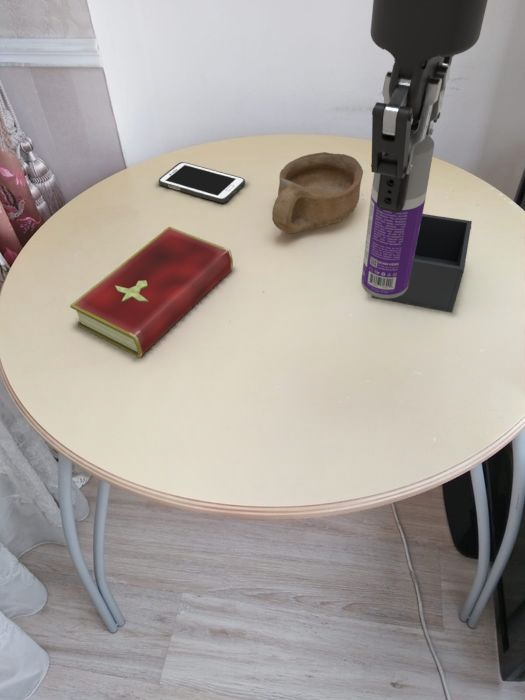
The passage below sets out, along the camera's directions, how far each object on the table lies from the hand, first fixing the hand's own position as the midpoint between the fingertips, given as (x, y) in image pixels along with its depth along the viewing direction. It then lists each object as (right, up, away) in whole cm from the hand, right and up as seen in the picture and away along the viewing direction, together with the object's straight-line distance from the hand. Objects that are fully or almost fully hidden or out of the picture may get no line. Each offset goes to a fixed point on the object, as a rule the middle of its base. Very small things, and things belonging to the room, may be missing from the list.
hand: (399, 192), depth 49 cm
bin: (+11, -3, +34) cm, 35 cm away
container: (0, -7, +8) cm, 11 cm away
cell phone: (-23, +16, +54) cm, 61 cm away
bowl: (-3, +8, +45) cm, 46 cm away
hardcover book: (-27, -6, +33) cm, 43 cm away
